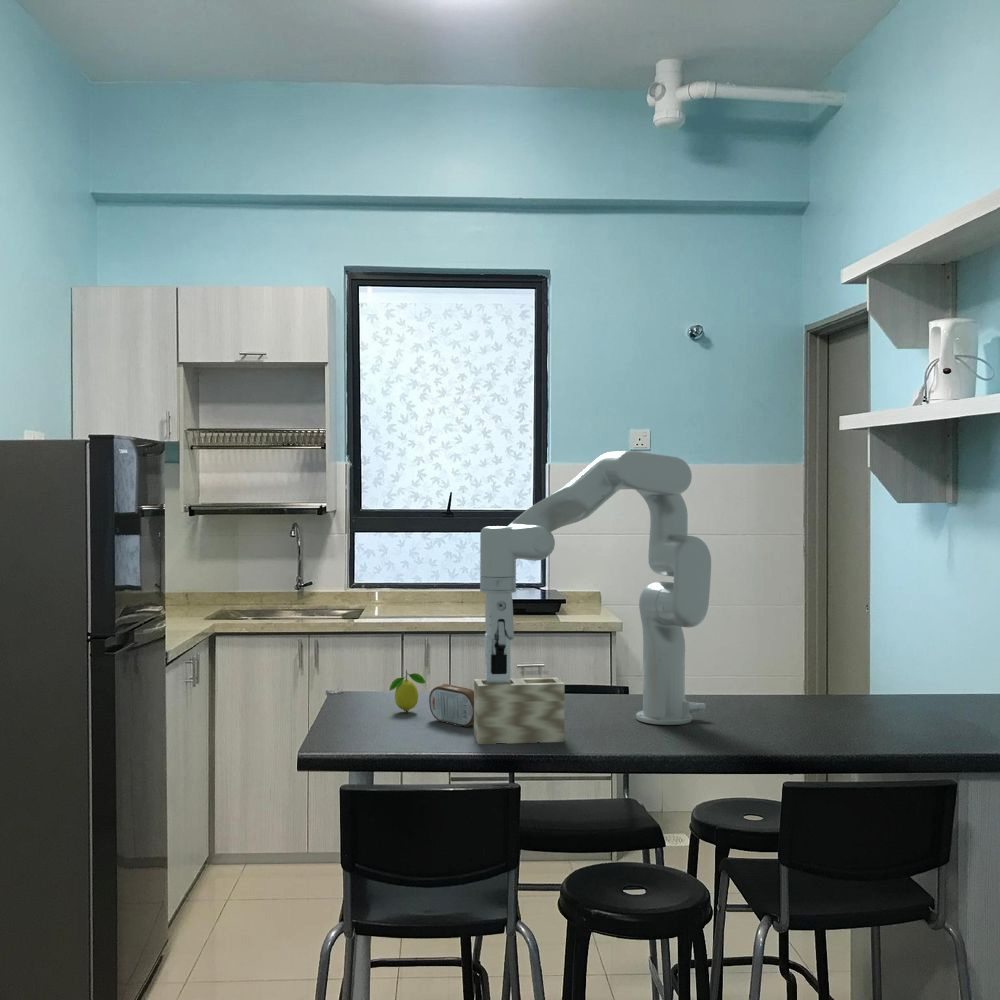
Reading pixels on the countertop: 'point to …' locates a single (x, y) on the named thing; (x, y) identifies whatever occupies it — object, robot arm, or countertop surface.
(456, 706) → the tin
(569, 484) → the robot arm
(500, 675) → the grey slab
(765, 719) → the countertop surface
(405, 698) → the lemon
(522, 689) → the two-slot cinder block
